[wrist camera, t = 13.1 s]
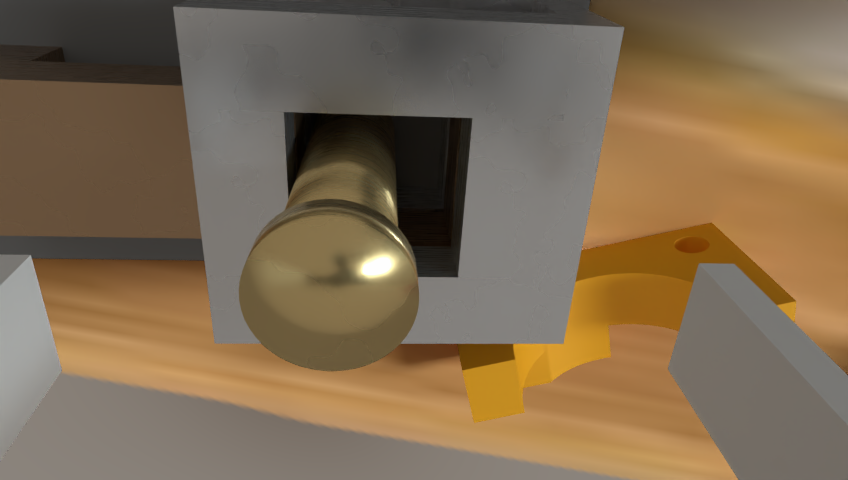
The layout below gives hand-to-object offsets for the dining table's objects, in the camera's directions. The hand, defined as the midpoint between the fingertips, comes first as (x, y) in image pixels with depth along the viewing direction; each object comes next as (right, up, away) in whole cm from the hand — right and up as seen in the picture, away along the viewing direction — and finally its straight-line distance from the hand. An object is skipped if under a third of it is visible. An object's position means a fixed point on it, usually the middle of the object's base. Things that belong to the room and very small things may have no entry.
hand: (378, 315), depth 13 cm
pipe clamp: (+8, -1, +16) cm, 18 cm away
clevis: (-5, +6, +11) cm, 13 cm away
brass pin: (-2, +6, +11) cm, 13 cm away
